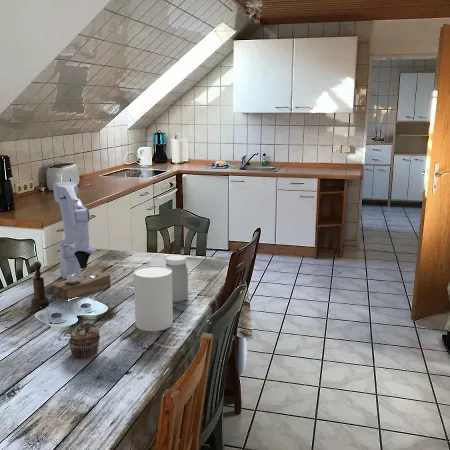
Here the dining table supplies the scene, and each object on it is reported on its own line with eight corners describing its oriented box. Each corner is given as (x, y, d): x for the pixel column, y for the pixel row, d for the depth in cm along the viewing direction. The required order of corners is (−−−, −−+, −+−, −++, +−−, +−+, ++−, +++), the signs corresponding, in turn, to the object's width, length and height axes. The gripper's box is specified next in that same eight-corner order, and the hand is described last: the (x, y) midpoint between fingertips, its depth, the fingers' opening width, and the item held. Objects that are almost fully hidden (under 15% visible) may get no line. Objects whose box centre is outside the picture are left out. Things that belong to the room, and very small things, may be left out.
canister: (137, 332, 174) (135, 278, 169) (133, 317, 187) (132, 266, 182) (175, 328, 177) (175, 275, 173) (169, 314, 190) (168, 264, 185)
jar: (184, 304, 199) (184, 261, 195) (161, 302, 201) (160, 260, 197) (191, 295, 209) (190, 254, 205) (168, 294, 211) (168, 253, 206)
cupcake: (88, 343, 166) (86, 315, 163) (106, 352, 160) (105, 323, 157) (63, 354, 158) (61, 324, 156) (81, 363, 152) (79, 333, 150)
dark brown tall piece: (27, 306, 196) (24, 262, 191) (40, 301, 201) (37, 258, 197) (40, 309, 193) (36, 265, 188) (52, 304, 198) (49, 261, 194)
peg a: (65, 286, 207) (64, 275, 206) (73, 283, 211) (72, 272, 210) (72, 288, 205) (71, 277, 204) (80, 285, 209) (79, 274, 208)
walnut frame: (52, 296, 206) (51, 284, 205) (94, 281, 225) (94, 270, 224) (68, 301, 201) (68, 289, 200) (110, 285, 220) (110, 274, 219)
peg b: (84, 286, 216) (83, 276, 215) (91, 284, 220) (91, 274, 219) (91, 289, 214) (90, 278, 213) (98, 286, 218) (98, 275, 217)
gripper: (62, 236, 209) (64, 267, 212) (86, 241, 201) (88, 273, 205) (75, 233, 215) (77, 263, 218) (99, 238, 207) (100, 269, 210)
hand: (83, 267), depth 212 cm, fingers closed
